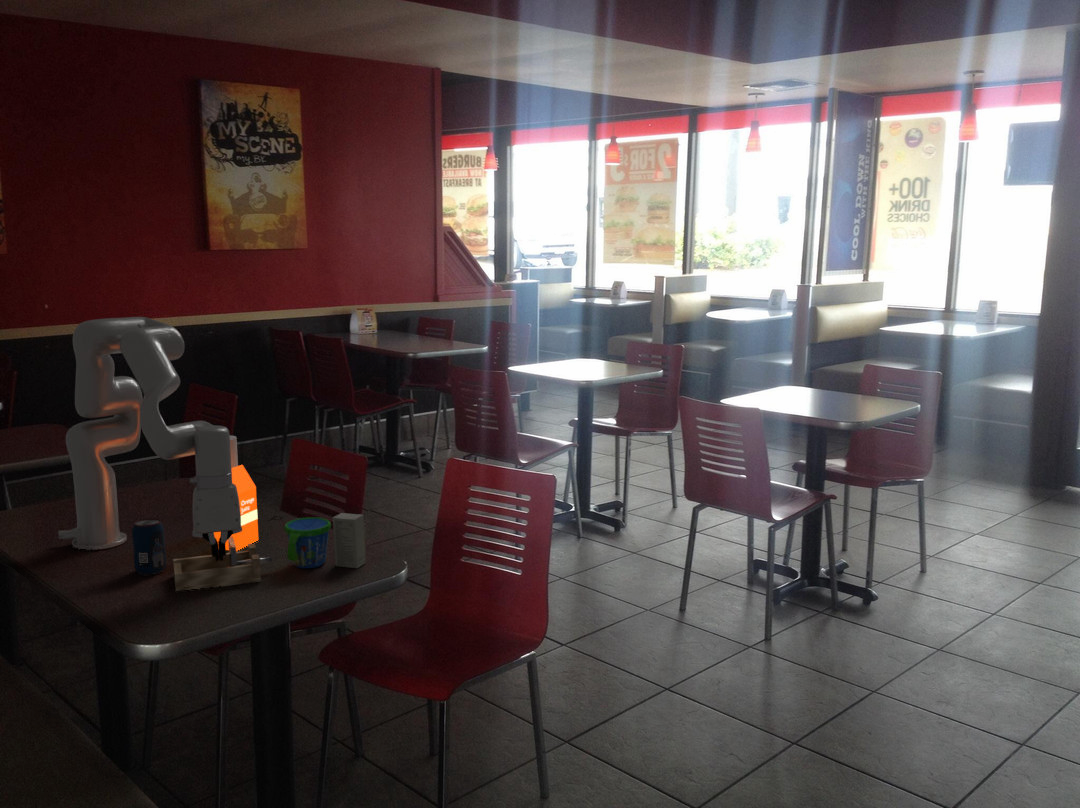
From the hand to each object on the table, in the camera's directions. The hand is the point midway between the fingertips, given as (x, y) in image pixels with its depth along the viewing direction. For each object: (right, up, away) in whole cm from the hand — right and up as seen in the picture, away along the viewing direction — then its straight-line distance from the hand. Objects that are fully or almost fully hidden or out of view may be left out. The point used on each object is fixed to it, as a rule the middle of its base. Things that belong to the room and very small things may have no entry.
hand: (219, 558), depth 211 cm
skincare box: (+28, -3, +10) cm, 30 cm away
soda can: (-18, -4, +5) cm, 19 cm away
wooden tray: (-1, -5, +1) cm, 5 cm away
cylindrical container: (-11, +2, +37) cm, 39 cm away
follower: (+6, -3, +3) cm, 8 cm away
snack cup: (+18, -3, +10) cm, 21 cm away
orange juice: (-4, -1, +25) cm, 25 cm away
